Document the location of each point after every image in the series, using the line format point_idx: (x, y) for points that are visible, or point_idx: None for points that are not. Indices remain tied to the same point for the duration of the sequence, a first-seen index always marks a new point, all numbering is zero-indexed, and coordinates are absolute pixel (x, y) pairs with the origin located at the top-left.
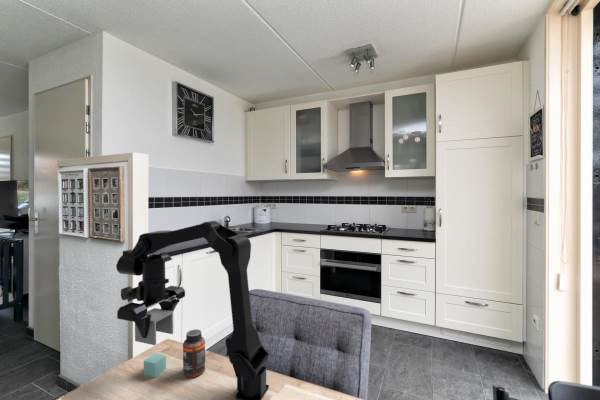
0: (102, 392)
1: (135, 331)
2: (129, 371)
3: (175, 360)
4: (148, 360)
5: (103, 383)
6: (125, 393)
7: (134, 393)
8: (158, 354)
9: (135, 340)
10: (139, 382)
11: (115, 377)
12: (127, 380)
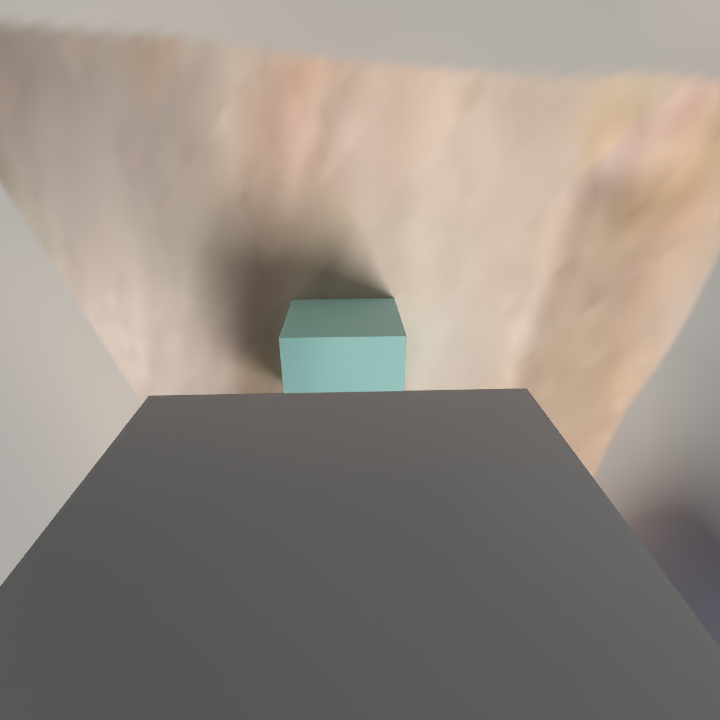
0: (27, 190)
1: (67, 517)
2: (276, 160)
3: (491, 375)
4: (299, 368)
5: (80, 89)
6: (113, 343)
7: (142, 389)
8: (397, 378)
9: (145, 410)
10: (222, 338)
11: (174, 116)
12: (197, 244)
